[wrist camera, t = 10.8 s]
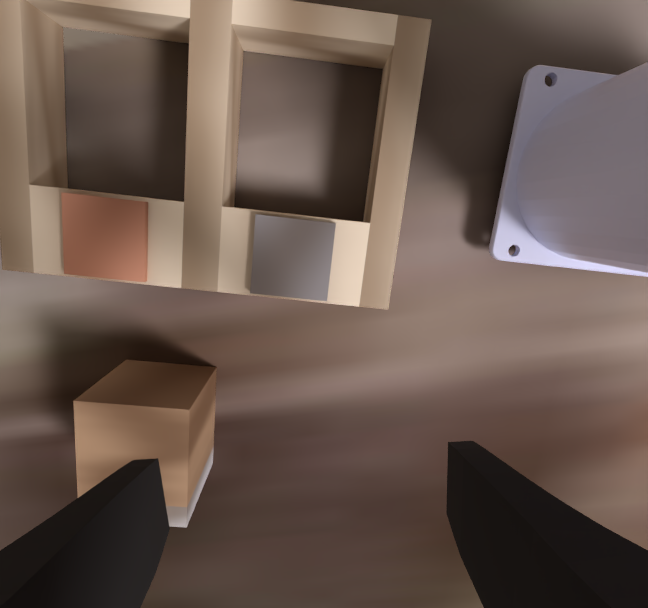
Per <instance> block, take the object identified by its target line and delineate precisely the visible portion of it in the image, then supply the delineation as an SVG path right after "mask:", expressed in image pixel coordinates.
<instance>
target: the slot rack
mask: <svg viewBox="0 0 648 608" xmlns="http://www.w3.org/2000/svg"><path fill="white" fill-rule="evenodd" d="M431 21H432V20H431V19H424V18H417V17H409V16H402V15H395V14H388V13H380V12H373V11H366V10H358V9H351V8H344V7H336V6H329V5H322V4H315V3H307V2H300V1H293V0H0V241H1V256H2V270H11V271H20V272H30V273H40V274H49V275H59V276H69V277H78V278H88V279H98V280H107V281H117V282H127V283H136V284H146V285H156V286H165V287H175V288H185V289H194V290H204V291H214V292H223V293H233V294H243V295H252V296H262V297H272V298H281V299H291V300H301V301H310V302H320V303H330V304H339V305H349V306H359V307H368V308H378V309H388V306H389V300H390V293H391V287H392V280H393V273H394V267H395V260H396V253H397V247H398V240H399V233H400V227H401V220H402V213H403V207H404V200H405V194H406V187H407V180H408V174H409V167H410V160H411V154H412V147H413V140H414V134H415V127H416V121H417V114H418V107H419V101H420V94H421V87H422V81H423V74H424V67H425V61H426V54H427V48H428V41H429V34H430V28H431ZM63 27H66V28H74V29H82V30H89V31H97V32H104V33H112V34H119V35H127V36H135V37H142V38H150V39H158V40H165V41H173V42H180V43H188V44H189V61H188V92H187V124H186V155H185V187H184V201H175V200H166V199H157V198H149V197H140V196H131V195H122V194H113V193H104V192H95V191H87V190H78V189H69V188H68V176H67V144H66V111H65V78H64V46H63ZM243 51H249V52H257V53H265V54H272V55H280V56H288V57H295V58H303V59H311V60H318V61H326V62H333V63H341V64H349V65H356V66H364V67H372V68H379V69H383V72H382V80H381V88H380V95H379V103H378V111H377V118H376V126H375V134H374V142H373V149H372V157H371V165H370V172H369V180H368V188H367V196H366V203H365V211H364V219H363V222H361V221H352V220H343V219H334V218H325V217H317V216H308V215H299V214H290V213H281V212H272V211H263V210H255V209H246V208H237V207H234V203H235V186H236V169H237V153H238V136H239V119H240V102H241V85H242V68H243Z"/></svg>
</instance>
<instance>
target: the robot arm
mask: <svg viewBox="0 0 648 608" xmlns="http://www.w3.org/2000/svg"><path fill="white" fill-rule="evenodd" d="M546 76H549V77H550V78H551V79H552V84H551V86H550V87H549V86H547V85H546V84H545V77H546ZM512 245H514V246H515V247H516V251H515V253H514V254H513V255H509V253H508V250H509V248H510V247H511V246H512ZM489 253H490V255H491V256H492V257H493V258H494V259H497V260H501V261H510V262H519V263H528V264H537V265H546V266H555V267H564V268H573V269H583V270H592V271H601V272H610V273H619V274H628V275H637V276H646V277H648V62H646V63H644V64H642V65H640V66H637V67H635V68H633V69H631V70H628V71H626V72H624V73H622V74H620V75H613V74H605V73H598V72H590V71H583V70H576V69H568V68H561V67H553V66H546V65H536V66H534V67H533V68H531V69H530V70H528V71H527V72H526V74H525V75H524V78H523V82H522V86H521V91H520V96H519V101H518V106H517V111H516V116H515V121H514V126H513V131H512V136H511V141H510V146H509V151H508V156H507V161H506V166H505V171H504V176H503V181H502V186H501V191H500V196H499V201H498V206H497V211H496V216H495V221H494V226H493V231H492V235H491V240H490V245H489ZM447 516H448V519H449V522H450V525H451V529H452V532H453V535H454V538H455V541H456V544H457V547H458V550H459V553H460V556H461V558H462V560H463V562H464V565H465V567H466V569H467V571H468V574H469V576H470V578H471V580H472V582H473V585H474V587H475V589H476V591H477V593H478V596H479V598H480V600H481V602H482V604H483V607H484V608H648V550H646V549H644V548H642V547H640V546H638V545H637V544H635V543H633V542H631V541H629V540H627V539H625V538H623V537H622V536H620V535H618V534H616V533H614V532H612V531H610V530H609V529H607V528H605V527H603V526H602V525H600V524H598V523H596V522H595V521H593V520H591V519H590V518H588V517H587V516H585V515H583V514H582V513H580V512H578V511H577V510H575V509H573V508H572V507H570V506H569V505H567V504H565V503H564V502H562V501H561V500H559V499H557V498H556V497H554V496H553V495H551V494H550V493H548V492H547V491H545V490H544V489H542V488H541V487H539V486H538V485H536V484H535V483H533V482H532V481H530V480H529V479H527V478H526V477H524V476H523V475H522V474H520V473H519V472H517V471H516V470H514V469H513V468H512V467H510V466H509V465H507V464H506V463H504V462H503V461H502V460H500V459H499V458H497V457H496V456H495V455H493V454H492V453H490V452H489V451H487V450H486V449H484V448H483V447H482V446H480V445H478V444H477V443H475V442H474V441H462V442H448V475H447ZM169 529H170V528H169V522H168V515H167V509H166V503H165V497H164V491H163V484H162V478H161V472H160V466H159V460H158V458H156V459H137V460H132V461H131V462H129V463H127V464H126V465H124V466H123V467H121V468H120V469H118V470H117V471H115V472H114V473H112V474H111V475H110V476H108V477H107V478H105V479H104V480H103V481H101V482H100V483H98V484H97V485H96V486H94V487H93V488H91V489H90V490H89V491H87V492H86V493H84V494H83V495H81V496H80V497H79V498H77V499H76V500H74V501H73V502H72V503H70V504H69V505H67V506H66V507H65V508H63V509H62V510H60V511H59V512H57V513H56V514H55V515H53V516H52V517H50V518H49V519H47V520H46V521H44V522H43V523H41V524H40V525H38V526H37V527H35V528H34V529H32V530H31V531H29V532H28V533H26V534H25V535H23V536H22V537H20V538H19V539H17V540H16V541H14V542H13V543H11V544H10V545H8V546H7V547H5V548H4V549H2V550H1V551H0V608H140V607H141V605H142V602H143V600H144V598H145V596H146V593H147V591H148V589H149V587H150V584H151V582H152V580H153V578H154V575H155V573H156V570H157V567H158V564H159V561H160V558H161V555H162V552H163V549H164V546H165V542H166V539H167V536H168V532H169Z"/></svg>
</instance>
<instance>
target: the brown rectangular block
mask: <svg viewBox="0 0 648 608" xmlns="http://www.w3.org/2000/svg"><path fill="white" fill-rule="evenodd" d="M216 370H217V367H210V366H198V365H186V364H174V363H162V362H150V361H138V360H125V361H124V362H122V363H121V364H120V365H119V366H117V367H116V368H115V369H113V370H112V371H111V372H110V373H108V374H107V375H106V376H105V377H103V378H102V379H101V380H99V381H98V382H97V383H96V384H94V385H93V386H92V387H90V388H89V389H88V390H87V391H85V392H84V393H83V394H81V395H80V396H79V397H78V398H76V399H75V400H74V401H73V404H74V425H75V447H76V469H77V490H78V498H79V497H80V496H81V495H83V494H84V493H86V492H87V491H89V490H90V489H91V488H93V487H94V486H96V485H97V484H98V483H100V482H101V481H103V480H104V479H105V478H107V477H108V476H110V475H111V474H112V473H114V472H115V471H117V470H118V469H120V468H121V467H123V466H124V465H126V464H127V463H129V462H131V461H132V460H137V459H156V458H158V460H159V466H160V472H161V478H162V484H163V491H164V497H165V503H166V509H167V515H168V522H169V526H174V527H187V525H188V523H189V520H190V518H191V515H192V513H193V510H194V508H195V505H196V503H197V501H198V498H199V496H200V493H201V491H202V488H203V486H204V483H205V481H206V478H207V476H208V474H209V471H210V469H211V466H212V464H213V445H214V420H215V395H216Z"/></svg>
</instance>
